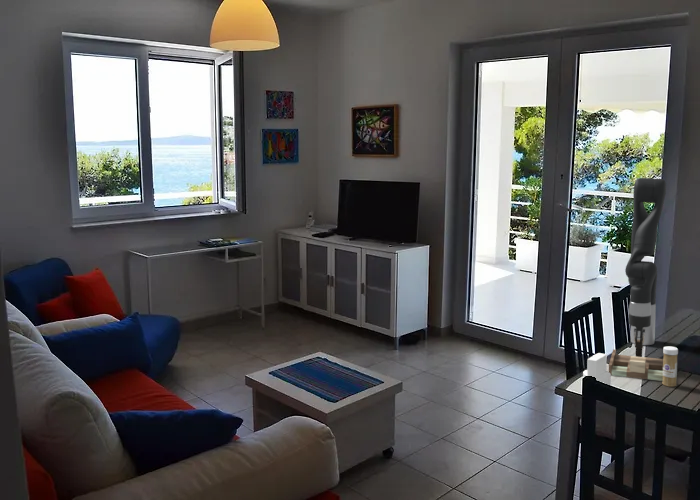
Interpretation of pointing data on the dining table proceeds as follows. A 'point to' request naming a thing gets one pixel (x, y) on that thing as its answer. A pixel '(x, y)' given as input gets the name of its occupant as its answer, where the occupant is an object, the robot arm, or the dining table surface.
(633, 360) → the beech block
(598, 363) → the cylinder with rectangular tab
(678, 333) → the dining table surface
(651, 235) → the robot arm
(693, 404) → the dining table surface
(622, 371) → the trap deck
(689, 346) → the dining table surface
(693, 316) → the dining table surface
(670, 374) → the sprinkles bottle
